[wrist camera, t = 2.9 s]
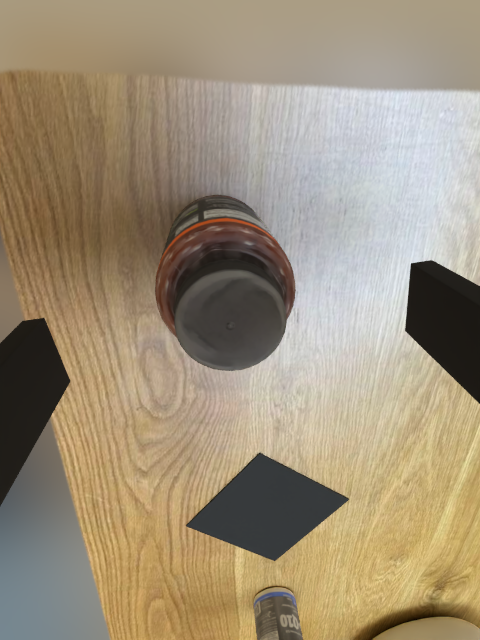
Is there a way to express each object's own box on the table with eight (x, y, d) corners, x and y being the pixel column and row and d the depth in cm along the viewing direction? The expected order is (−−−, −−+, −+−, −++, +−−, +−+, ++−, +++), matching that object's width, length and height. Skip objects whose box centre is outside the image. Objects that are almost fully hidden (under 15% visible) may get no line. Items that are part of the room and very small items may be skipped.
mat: (186, 525, 35) (186, 526, 35) (259, 453, 31) (259, 453, 31) (274, 560, 38) (274, 560, 38) (348, 498, 35) (349, 499, 35)
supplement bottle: (238, 301, 25) (262, 415, 15) (154, 264, 23) (117, 364, 13) (283, 220, 23) (347, 289, 13) (194, 173, 21) (185, 209, 11)
